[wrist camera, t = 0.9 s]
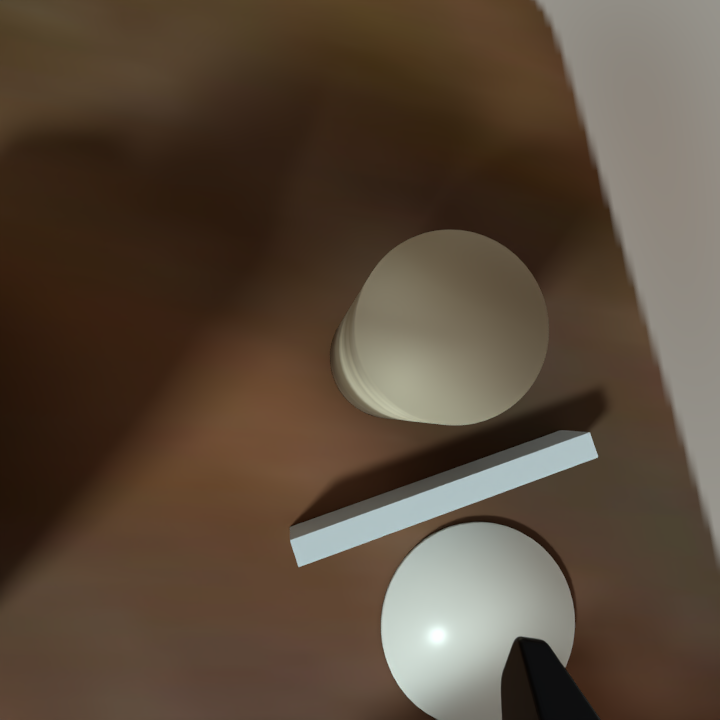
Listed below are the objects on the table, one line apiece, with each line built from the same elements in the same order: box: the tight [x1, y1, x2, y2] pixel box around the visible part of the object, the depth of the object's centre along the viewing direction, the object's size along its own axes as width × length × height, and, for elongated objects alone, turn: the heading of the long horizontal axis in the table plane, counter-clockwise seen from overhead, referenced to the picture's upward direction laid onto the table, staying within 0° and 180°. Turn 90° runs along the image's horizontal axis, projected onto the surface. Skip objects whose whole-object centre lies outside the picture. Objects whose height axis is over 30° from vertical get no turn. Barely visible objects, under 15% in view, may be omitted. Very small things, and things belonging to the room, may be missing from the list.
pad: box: [381, 522, 575, 720], centre depth 25 cm, size 8×8×1 cm
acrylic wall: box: [290, 430, 598, 567], centre depth 24 cm, size 12×1×2 cm, turn 108°
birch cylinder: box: [330, 230, 549, 425], centre depth 21 cm, size 5×5×10 cm
